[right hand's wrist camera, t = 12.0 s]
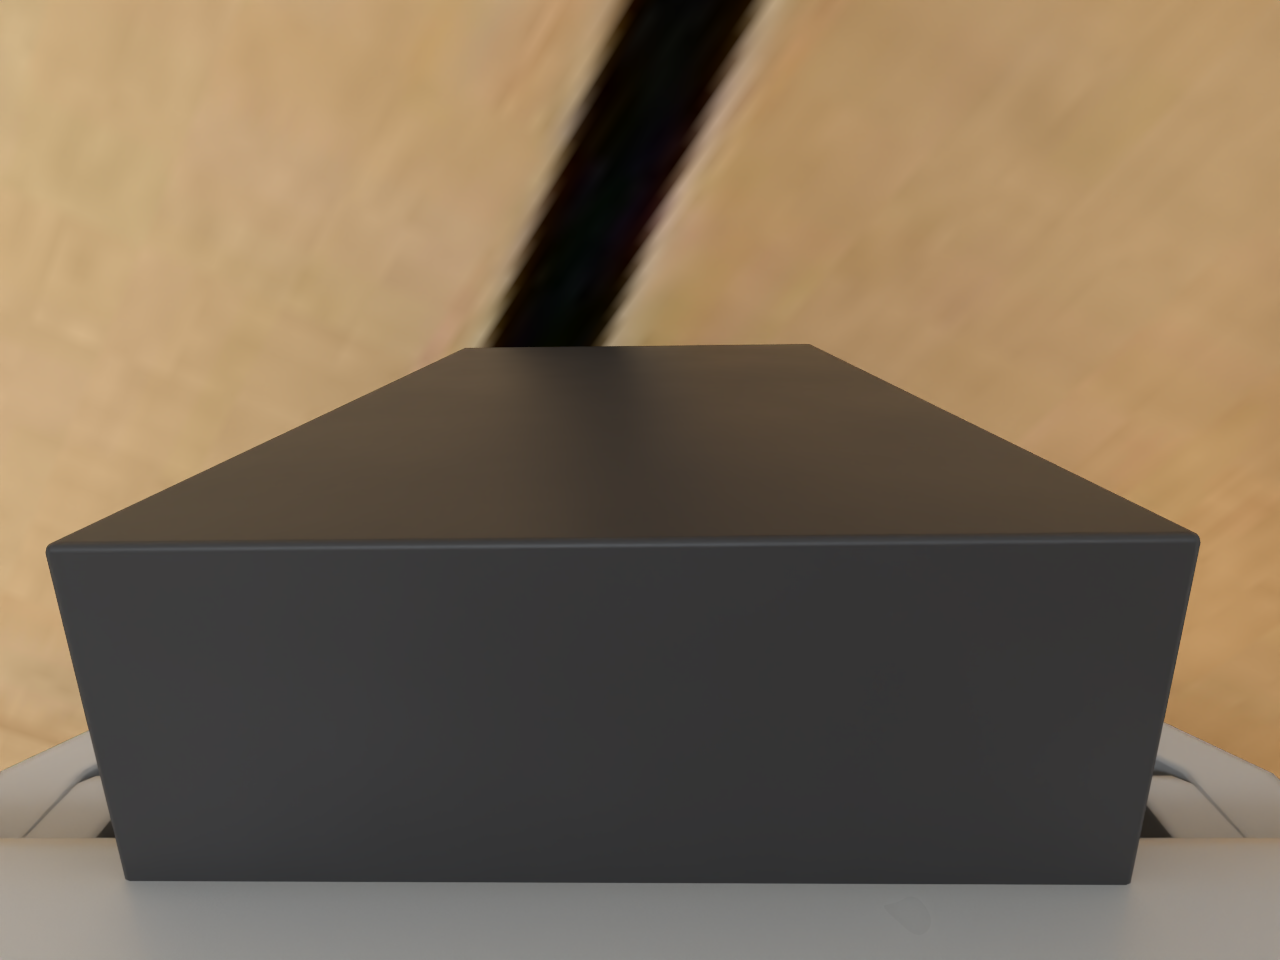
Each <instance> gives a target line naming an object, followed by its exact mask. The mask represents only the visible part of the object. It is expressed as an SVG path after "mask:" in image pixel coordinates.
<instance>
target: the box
mask: <svg viewBox="0 0 1280 960" xmlns="http://www.w3.org/2000/svg"><path fill="white" fill-rule="evenodd" d="M1199 547H1200V538H1199V536H1198V535H1197V534H1196V533H1194V532H1192V531H1190V530H1188V529H1186V528H1184V527H1182V526H1180V525H1178V524H1176V523H1174V522H1172V521H1170V520H1168V519H1165V518H1163V517H1161V516H1159V515H1157V514H1155V513H1153V512H1151V511H1149V510H1147V509H1145V508H1143V507H1141V506H1139V505H1137V504H1135V503H1133V502H1131V501H1129V500H1127V499H1125V498H1123V497H1121V496H1118V495H1116V494H1114V493H1112V492H1110V491H1108V490H1106V489H1104V488H1102V487H1100V486H1098V485H1096V484H1094V483H1092V482H1090V481H1088V480H1086V479H1084V478H1082V477H1080V476H1078V475H1076V474H1074V473H1072V472H1069V471H1067V470H1065V469H1063V468H1061V467H1059V466H1057V465H1055V464H1053V463H1051V462H1049V461H1047V460H1045V459H1043V458H1041V457H1039V456H1037V455H1035V454H1033V453H1031V452H1029V451H1027V450H1025V449H1022V448H1020V447H1018V446H1016V445H1014V444H1012V443H1010V442H1008V441H1006V440H1004V439H1002V438H1000V437H998V436H996V435H994V434H992V433H990V432H988V431H986V430H984V429H982V428H980V427H978V426H975V425H973V424H971V423H969V422H967V421H965V420H963V419H961V418H959V417H957V416H955V415H953V414H951V413H949V412H947V411H945V410H943V409H941V408H939V407H937V406H935V405H933V404H931V403H929V402H926V401H924V400H922V399H920V398H918V397H916V396H914V395H912V394H910V393H908V392H906V391H904V390H902V389H900V388H898V387H896V386H894V385H892V384H890V383H888V382H886V381H884V380H882V379H879V378H877V377H875V376H873V375H871V374H869V373H867V372H865V371H863V370H861V369H859V368H857V367H855V366H853V365H851V364H849V363H847V362H845V361H843V360H841V359H839V358H837V357H835V356H833V355H830V354H828V353H826V352H824V351H822V350H820V349H818V348H816V347H814V346H812V345H810V344H784V345H695V346H606V347H517V348H464V349H462V350H460V351H458V352H456V353H454V354H451V355H449V356H447V357H445V358H443V359H441V360H439V361H437V362H434V363H432V364H430V365H428V366H426V367H424V368H422V369H420V370H418V371H415V372H413V373H411V374H409V375H407V376H405V377H403V378H401V379H398V380H396V381H394V382H392V383H390V384H388V385H386V386H384V387H381V388H379V389H377V390H375V391H373V392H371V393H369V394H367V395H365V396H362V397H360V398H358V399H356V400H354V401H352V402H350V403H348V404H345V405H343V406H341V407H339V408H337V409H335V410H333V411H331V412H328V413H326V414H324V415H322V416H320V417H318V418H316V419H314V420H311V421H309V422H307V423H305V424H303V425H301V426H299V427H297V428H295V429H292V430H290V431H288V432H286V433H284V434H282V435H280V436H278V437H275V438H273V439H271V440H269V441H267V442H265V443H263V444H261V445H258V446H256V447H254V448H252V449H250V450H248V451H246V452H244V453H242V454H239V455H237V456H235V457H233V458H231V459H229V460H227V461H225V462H222V463H220V464H218V465H216V466H214V467H212V468H210V469H208V470H205V471H203V472H201V473H199V474H197V475H195V476H193V477H191V478H189V479H186V480H184V481H182V482H180V483H178V484H176V485H174V486H172V487H169V488H167V489H165V490H163V491H161V492H159V493H157V494H155V495H152V496H150V497H148V498H146V499H144V500H142V501H140V502H138V503H135V504H133V505H131V506H129V507H127V508H125V509H123V510H121V511H119V512H116V513H114V514H112V515H110V516H108V517H106V518H104V519H102V520H99V521H97V522H95V523H93V524H91V525H89V526H87V527H85V528H82V529H80V530H78V531H76V532H74V533H72V534H70V535H68V536H66V537H63V538H61V539H59V540H57V541H55V542H53V543H51V544H49V545H48V546H47V548H46V557H47V561H48V565H49V569H50V573H51V577H52V581H53V585H54V589H55V593H56V598H57V602H58V606H59V610H60V614H61V618H62V622H63V626H64V630H65V634H66V638H67V643H68V647H69V651H70V655H71V659H72V663H73V667H74V671H75V675H76V679H77V683H78V688H79V692H80V696H81V700H82V704H83V708H84V712H85V716H86V720H87V724H88V728H89V733H90V737H91V741H92V745H93V749H94V753H95V757H96V761H97V765H98V769H99V774H100V778H101V782H102V786H103V790H104V794H105V798H106V802H107V806H108V810H109V814H110V819H111V823H112V827H113V831H114V835H115V839H116V843H117V847H118V851H119V855H120V859H121V864H122V868H123V872H124V876H125V879H126V880H128V881H241V882H494V883H746V884H999V885H1127V884H1130V883H1131V878H1132V873H1133V869H1134V864H1135V859H1136V854H1137V849H1138V844H1139V839H1140V834H1141V830H1142V825H1143V820H1144V815H1145V810H1146V805H1147V800H1148V795H1149V791H1150V786H1151V781H1152V776H1153V771H1154V766H1155V761H1156V756H1157V752H1158V747H1159V742H1160V737H1161V732H1162V727H1163V722H1164V717H1165V713H1166V708H1167V703H1168V698H1169V693H1170V688H1171V683H1172V679H1173V674H1174V669H1175V664H1176V659H1177V654H1178V649H1179V644H1180V640H1181V635H1182V630H1183V625H1184V620H1185V615H1186V610H1187V605H1188V601H1189V596H1190V591H1191V586H1192V581H1193V576H1194V571H1195V566H1196V562H1197V557H1198V552H1199Z"/></svg>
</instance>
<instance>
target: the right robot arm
mask: <svg viewBox="0 0 1280 960" xmlns="http://www.w3.org/2000/svg"><path fill="white" fill-rule="evenodd" d="M0 960H1280V780H1279V779H1278V778H1277V777H1276V776H1275V775H1274V774H1273V773H1271V772H1269V771H1266V770H1264V769H1262V768H1260V767H1258V766H1256V765H1254V764H1252V763H1249V762H1247V761H1245V760H1243V759H1241V758H1239V757H1237V756H1235V755H1233V754H1230V753H1228V752H1226V751H1224V750H1222V749H1220V748H1218V747H1216V746H1213V745H1211V744H1209V743H1207V742H1205V741H1203V740H1201V739H1199V738H1196V737H1194V736H1192V735H1190V734H1188V733H1186V732H1184V731H1182V730H1179V729H1177V728H1175V727H1173V726H1171V725H1169V724H1167V723H1165V722H1163V727H1162V732H1161V737H1160V742H1159V747H1158V752H1157V756H1156V761H1155V766H1154V771H1153V776H1152V781H1151V786H1150V791H1149V795H1148V800H1147V805H1146V810H1145V815H1144V820H1143V825H1142V830H1141V834H1140V839H1139V844H1138V849H1137V854H1136V859H1135V864H1134V869H1133V873H1132V878H1131V883H1130V884H1127V885H999V884H746V883H494V882H241V881H128V880H126V879H125V876H124V872H123V868H122V864H121V859H120V855H119V851H118V847H117V843H116V839H115V835H114V831H113V827H112V823H111V819H110V814H109V810H108V806H107V802H106V798H105V794H104V790H103V786H102V782H101V778H100V774H99V769H98V765H97V761H96V757H95V753H94V749H93V745H92V741H91V737H90V733H89V731H86V732H84V733H82V734H80V735H78V736H76V737H73V738H71V739H69V740H67V741H65V742H63V743H61V744H58V745H56V746H54V747H52V748H50V749H48V750H46V751H43V752H41V753H39V754H37V755H35V756H33V757H30V758H28V759H26V760H24V761H22V762H20V763H18V764H15V765H13V766H11V767H9V768H7V769H5V770H3V771H0Z"/></svg>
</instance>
